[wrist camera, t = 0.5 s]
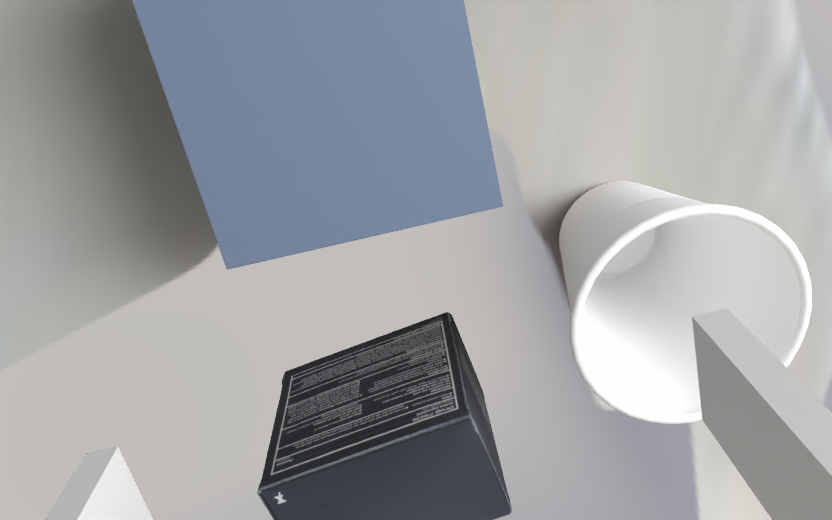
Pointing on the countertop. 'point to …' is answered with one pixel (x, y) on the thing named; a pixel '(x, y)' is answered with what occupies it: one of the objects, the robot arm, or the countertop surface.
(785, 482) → the robot arm
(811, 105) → the countertop surface
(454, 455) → the small box
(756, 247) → the cup
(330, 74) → the lid
